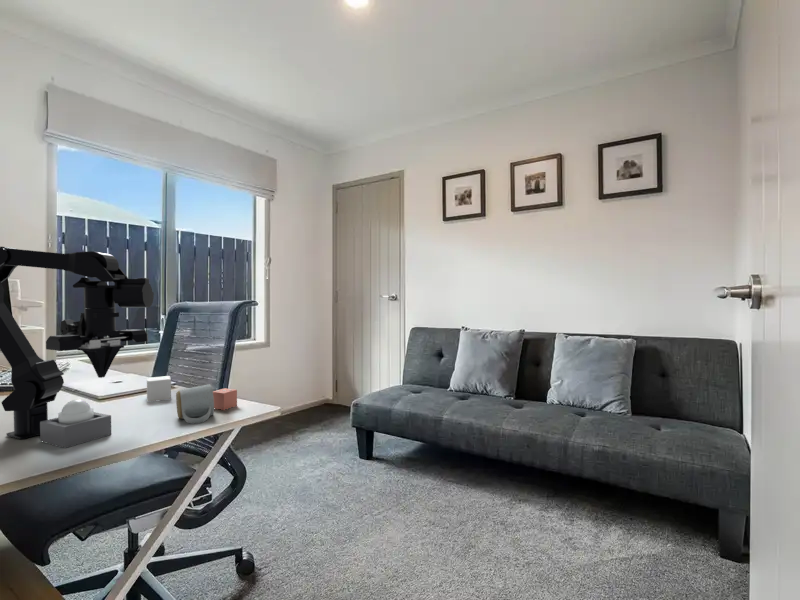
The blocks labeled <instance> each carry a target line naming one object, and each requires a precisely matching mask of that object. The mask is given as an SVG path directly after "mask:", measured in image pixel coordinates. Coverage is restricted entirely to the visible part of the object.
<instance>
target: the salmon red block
mask: <svg viewBox="0 0 800 600" xmlns="http://www.w3.org/2000/svg"><path fill="white" fill-rule="evenodd" d="M213 397H214V408H215V409H214V410H218V409H221V410H220V411H226V410H225V409H227V410H228V408H230V409H232V408H231V407H233V408H235V407H234V406H236V407H238V390H237V389H235V388H225V387H224V388H220V389H217V390H213Z"/></svg>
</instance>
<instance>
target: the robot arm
mask: <svg viewBox="0 0 800 600" xmlns="http://www.w3.org/2000/svg"><path fill="white" fill-rule="evenodd" d="M18 267H31V268H41V269H42V268H43V269H52V270H62V271H66V272H70V273H72V274H74V275H75V274H76V275H80V276H82V277H81V278H80V279H79V280H78V281H76V282H75V283H74V284H73V285H72V288H74V289H83V297H84V299H83V300H84V301H83V304H84V305H83V306H84V307H83V308H84V309H83V310H84V312H81V313H80V320H78V321H75V320H74V319H63V320H61V321H60V333H61V335H60V334H59V335H50V336H48V337H47V340H46V341H45V349H46V350H48V351H49V350H50V351H60V352H61V351H62V352H63V351H71V350H72V351H73V350H77V351H82V352H83V353H84V354H85V355H86V356H87V358H88V359H89V360H90V362H91V365H92V366H93V370H94V371H95V374H96V376H97V378H100V379H102V378H105V377H106V375H107V373H108V371H109V369H110V367H111V365H112V363H113V361H114V360H115V357H117V355H118V353H119V352H120V350H121V349H123V348H125V345H124V344H121V342H131V341H132V342H134V343H145V342H148V341H149V336H148V333H147V331H146V330H145V329H136V328H135V329H131V328H130V329H122V330H121V329H120V330H117V329H116V327H117V326H116V324H117V323H116V318H119V317H120V312H119V311H118V312H116V304H117V305H118V306H119V308H122V309H124V308H125V309H129V308H131V309H135V308H136V309H137V308H138V309H139V308H141V309H142V308H143V309H144V308H146V309H147V308H151V306H152V305H153V303H154V295H155V294H154V291H153V288H152V286H151V284H150V279H149V278H148V277H137V278H129V277H128V276H127V275H126V274H125V273H124V271H123V270H122V268H120V267H119V261H118V259H117V258H116V257H115V256H114V255H112V254H110V253H107V252H106V253H103V252H99V251H91V250H90V251H76V252H70V253H68V252H67V253H60V252H48V251H41V250H39V251H38V250H30V249H29V250H28V249H19V248H15V247H7V246H0V351H1V353H2V355H3V356H4V358H5V359H6V361H7V363H8V364H9V366H10V367H11V373H10V374H11V376H10V383H11V385H12V388H13V389H14V390H13V391H12V392H11V393H10V394H8V395H7V396H6V397H5V398H4V399H3V400H2V401H1V406H2V408H3V410H4V411H5V412H13V431H10V432H6V435H5V436H7V437H10V436H11V437H10V438H14V437H15V439H18V438H19V439H18V440H23V439H29V438H32V436H33V437H35V436H36V435H37V436H39V435H40V422H41V421H45V420H49V416H48V415H49V413H48V411H49V410H48V404H49V403H50V402H53V401H55V400H56V397H57V395H58V393H59V392H60V391H61V390H62V388H63V385H64V383H65V382H64V377H63V375H65V373H64V372H63V371H62V370H60V368H59V366H58V365H57V362H56V360H55V359H49V360H44V359H42V358H41V357H40V356H39V355H38V353H37V352H36V350H35V349H34V348H33V345H32V344H31V343H30V342H29V340H28V339H27V338H28V337H26V335H25V333H24V332H23V331H22V329H21V327H20V326H19V324H18V322H17V321H16V319H15V318H14V317H13V314H12V313H11V311H10V310H9V308H8V307H7V305H6V304H5V302H4V301H5V300H4V299H5V298H4V297H5V289H4V286H3V282H4V281H6V280H8V279H9V278H10V276H11V275H12V273H13V272H14V270H15V269H16V268H18ZM90 278H92V279H93V278H95V279H97V280H90ZM107 283H114V285H108V284H107ZM28 437H29V438H28Z"/></svg>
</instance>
